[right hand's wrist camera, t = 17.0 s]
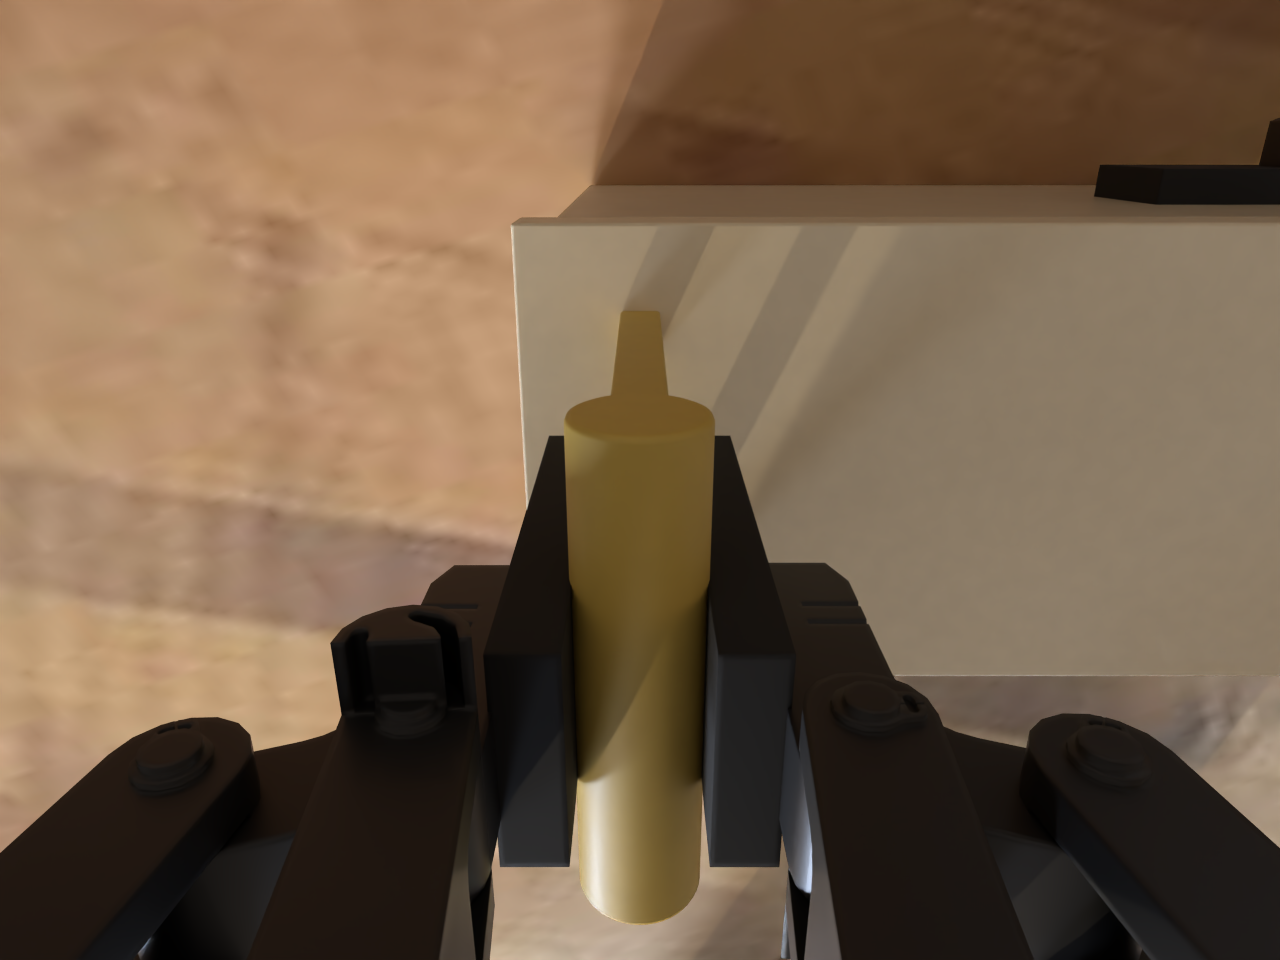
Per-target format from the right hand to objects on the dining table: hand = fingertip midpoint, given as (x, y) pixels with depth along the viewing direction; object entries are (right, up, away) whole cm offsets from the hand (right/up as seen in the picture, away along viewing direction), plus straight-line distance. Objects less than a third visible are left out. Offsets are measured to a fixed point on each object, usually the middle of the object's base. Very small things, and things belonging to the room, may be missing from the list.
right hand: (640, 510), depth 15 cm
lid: (+6, +1, +3) cm, 7 cm away
